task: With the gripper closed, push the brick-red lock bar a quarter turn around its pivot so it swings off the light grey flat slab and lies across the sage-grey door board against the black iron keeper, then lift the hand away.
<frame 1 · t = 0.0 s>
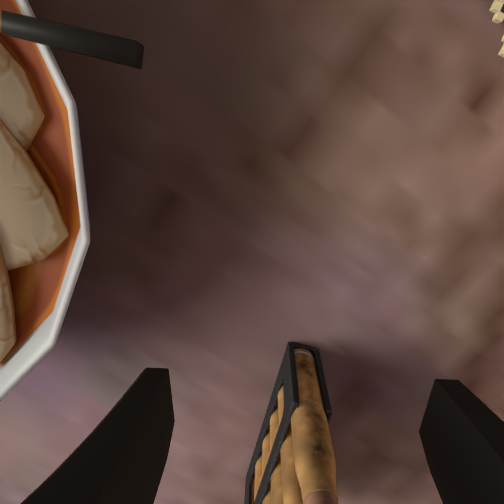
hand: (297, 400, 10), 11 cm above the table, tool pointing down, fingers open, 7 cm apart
ammunition clip: (279, 415, 23), on the table
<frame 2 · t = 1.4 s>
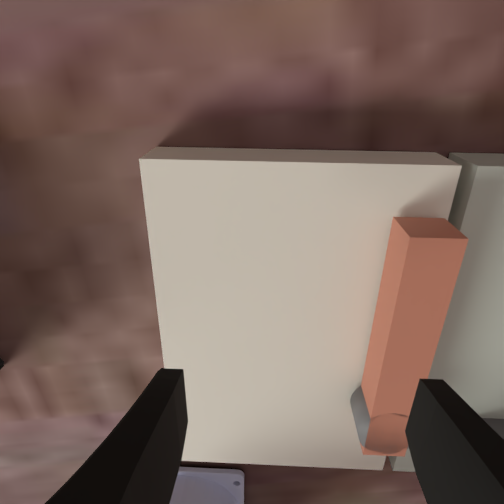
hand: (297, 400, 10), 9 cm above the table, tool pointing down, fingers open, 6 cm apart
lock bar: (399, 348, 16), point 4 cm above the table, hinge at 0.0°
light grey flat slab: (391, 320, 20), on the table
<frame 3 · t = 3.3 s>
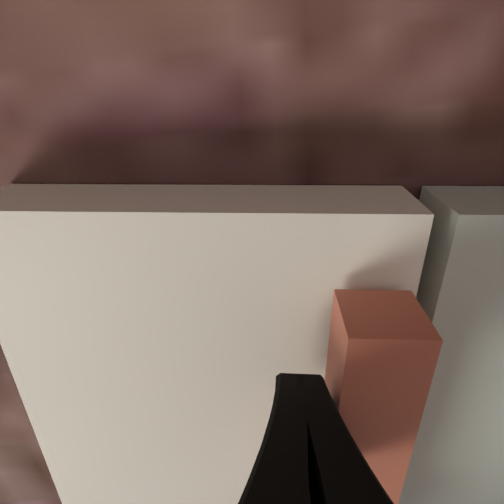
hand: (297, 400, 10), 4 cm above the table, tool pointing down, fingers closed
lock bar: (355, 467, 11), point 4 cm above the table, hinge at 0.0°, touching gripper
light grey flat slab: (357, 399, 15), on the table
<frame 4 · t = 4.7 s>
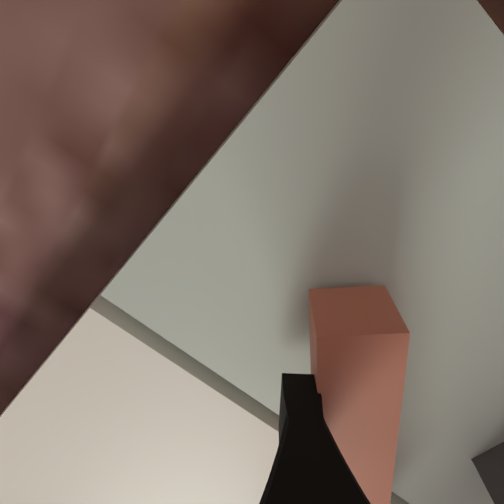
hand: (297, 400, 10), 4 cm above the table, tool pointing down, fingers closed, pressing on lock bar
lock bar: (348, 463, 12), point 4 cm above the table, hinge at 43.9°, touching gripper
light grey flat slab: (297, 400, 16), on the table
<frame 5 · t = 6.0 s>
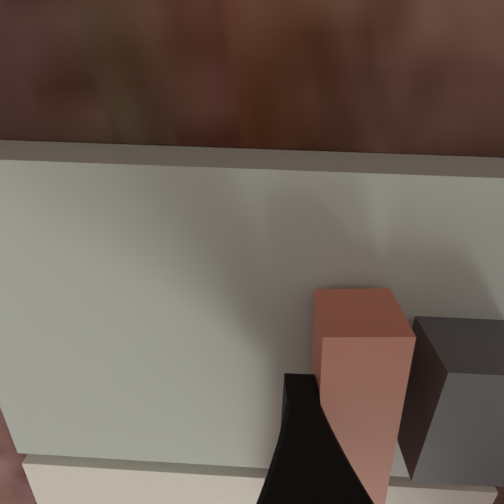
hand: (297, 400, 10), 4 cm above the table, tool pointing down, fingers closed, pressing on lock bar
lock bar: (344, 464, 12), point 4 cm above the table, hinge at 86.1°, touching gripper
light grey flat slab: (257, 426, 16), on the table
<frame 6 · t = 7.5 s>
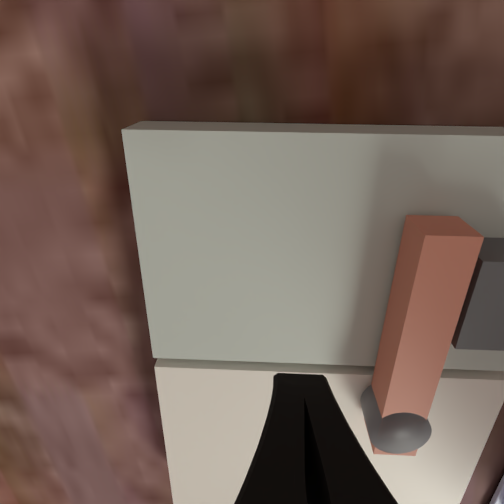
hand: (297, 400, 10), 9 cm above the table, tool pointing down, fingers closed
lock bar: (411, 347, 16), point 4 cm above the table, hinge at 90.0°
light grey flat slab: (323, 345, 21), on the table
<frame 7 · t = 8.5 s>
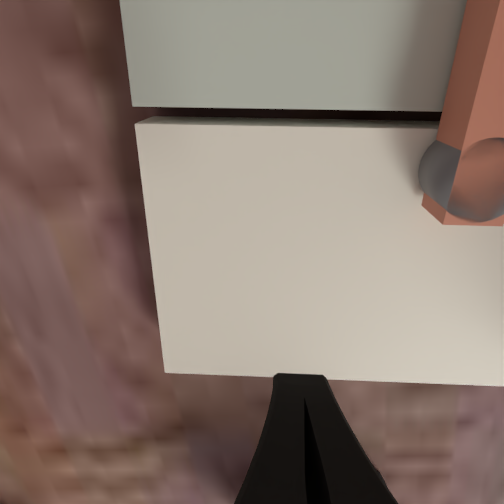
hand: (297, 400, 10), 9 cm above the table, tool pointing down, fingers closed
light grey flat slab: (362, 126, 16), on the table
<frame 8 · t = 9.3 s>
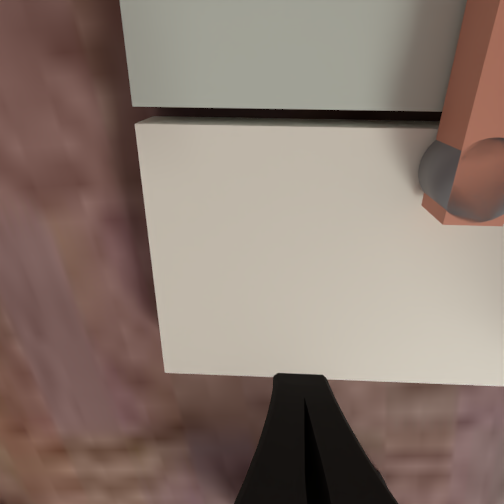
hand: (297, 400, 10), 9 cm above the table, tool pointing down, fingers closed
light grey flat slab: (362, 126, 16), on the table
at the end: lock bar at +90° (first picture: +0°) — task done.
